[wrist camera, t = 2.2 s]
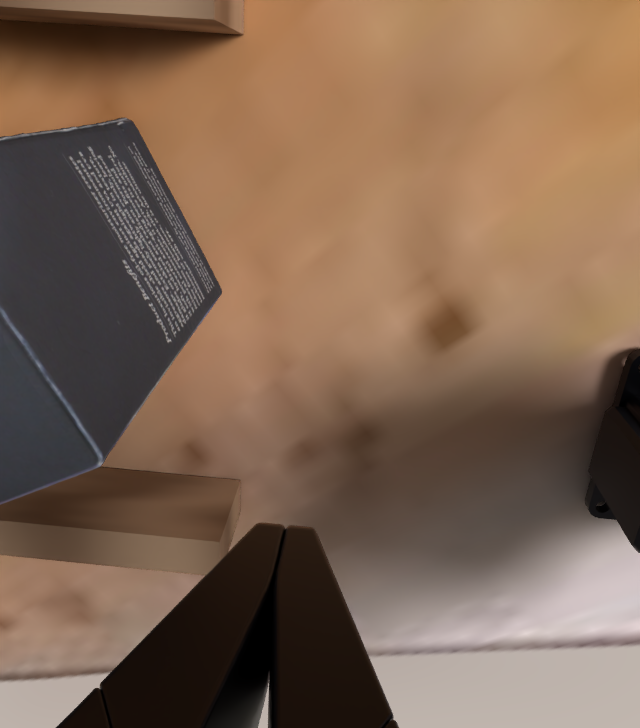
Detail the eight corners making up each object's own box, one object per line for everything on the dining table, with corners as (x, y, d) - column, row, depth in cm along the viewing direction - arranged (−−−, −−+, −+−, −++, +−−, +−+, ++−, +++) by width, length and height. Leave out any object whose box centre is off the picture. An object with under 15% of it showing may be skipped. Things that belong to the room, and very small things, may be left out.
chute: (244, -29, 16) (213, -61, 13) (240, 512, 23) (220, 576, 20) (-149, -51, 17) (-271, -87, 13) (-32, 485, 24) (-94, 545, 21)
